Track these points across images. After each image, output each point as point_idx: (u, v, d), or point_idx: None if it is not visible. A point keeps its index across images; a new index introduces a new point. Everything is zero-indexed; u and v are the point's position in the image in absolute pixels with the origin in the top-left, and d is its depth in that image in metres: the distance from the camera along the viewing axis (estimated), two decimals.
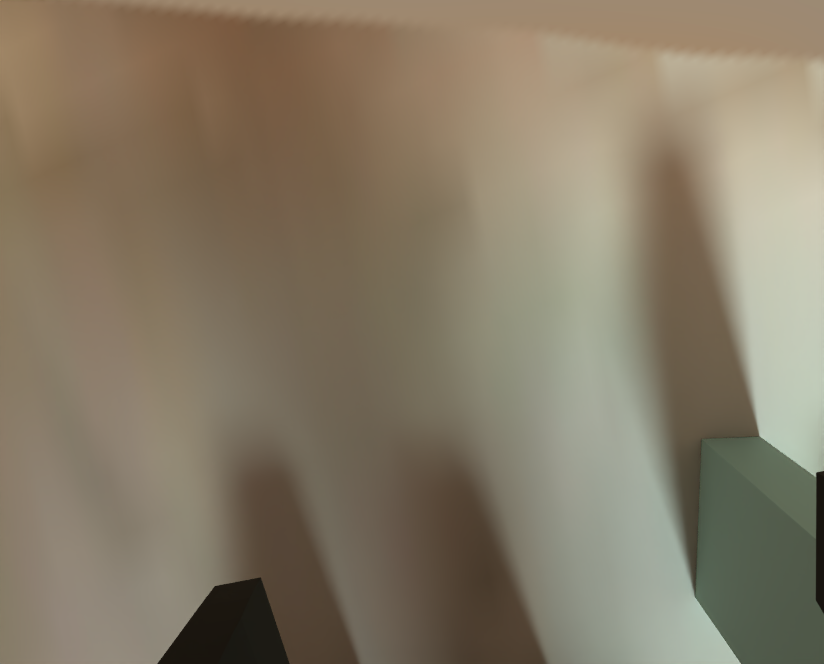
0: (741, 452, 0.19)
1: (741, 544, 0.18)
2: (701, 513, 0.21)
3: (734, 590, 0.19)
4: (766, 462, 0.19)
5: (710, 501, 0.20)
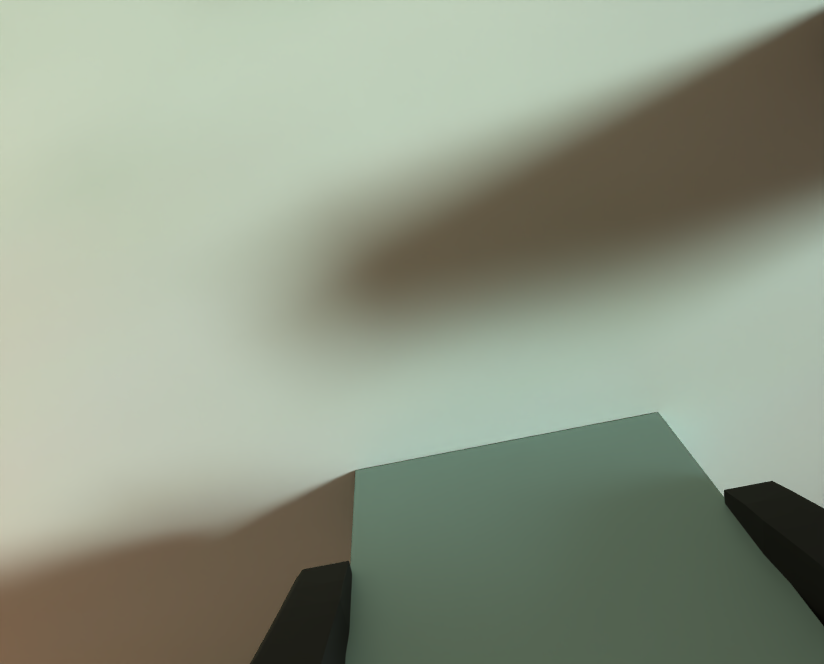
0: None
1: None
2: None
3: None
4: None
5: None
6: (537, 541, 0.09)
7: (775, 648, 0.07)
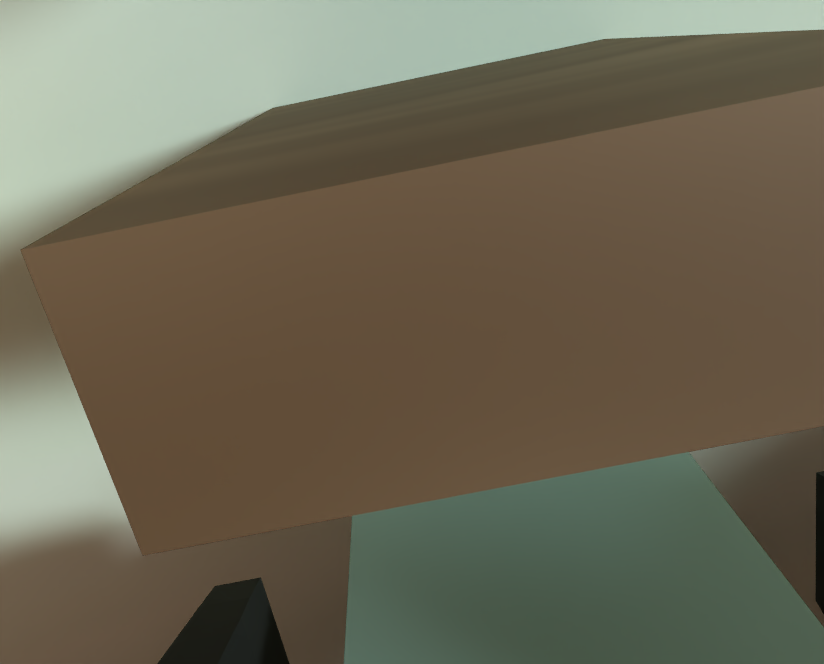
0: None
1: None
2: None
3: None
4: None
5: None
6: (522, 496, 0.10)
7: (727, 577, 0.08)
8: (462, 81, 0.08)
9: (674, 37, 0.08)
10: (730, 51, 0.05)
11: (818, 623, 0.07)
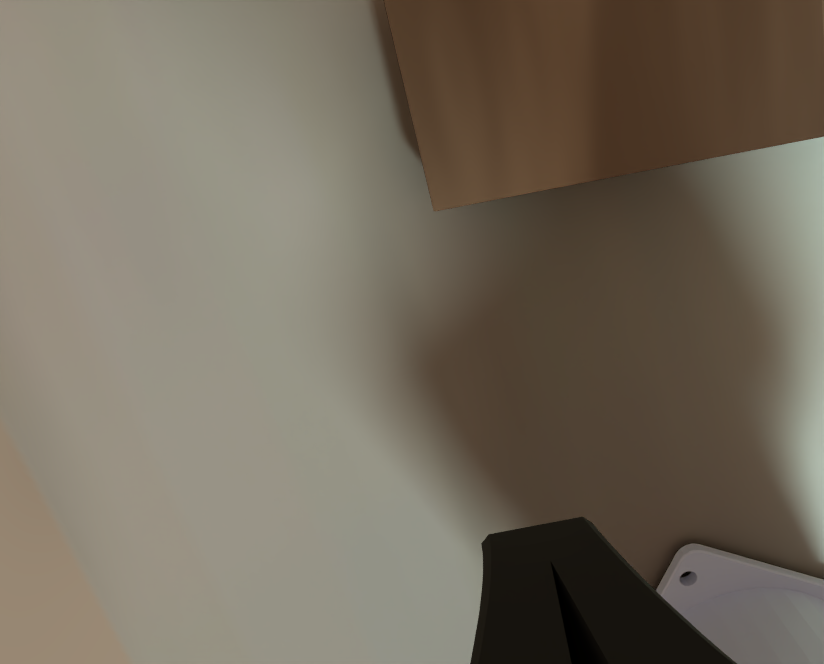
0: None
1: None
2: None
3: None
4: None
5: None
6: None
7: None
8: None
9: None
10: None
11: None
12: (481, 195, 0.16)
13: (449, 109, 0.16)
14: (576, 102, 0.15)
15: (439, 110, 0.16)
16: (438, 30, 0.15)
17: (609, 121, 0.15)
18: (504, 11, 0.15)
